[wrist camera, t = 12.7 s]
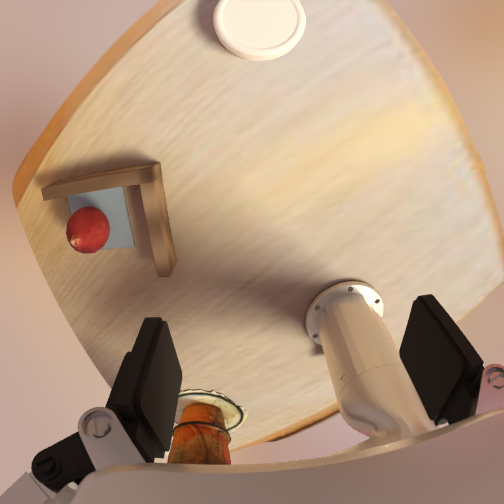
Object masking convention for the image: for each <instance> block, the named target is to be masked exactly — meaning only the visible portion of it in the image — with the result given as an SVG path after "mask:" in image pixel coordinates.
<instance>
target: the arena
mask: <svg viewBox="0 0 504 504" xmlns="http://www.w3.org/2000/svg"><path fill="white" fill-rule="evenodd" d="M138 184H140V189H141V195H142V200H143V206H144V211H145V217H146V222H147V227H148V232H149V237H150V242H151V247H152V251H153V256H154V260H155V265H156V269H157V273H158V277H170V276H171V274H172V271H173V269H174V266H175V264H176V257H175V252H174V246H173V241H172V235H171V230H170V224H169V218H168V212H167V206H166V199H165V193H164V186H163V179H162V172H161V165H160V163H153V164H146V165H139V166H133V167H127V168H121V169H115V170H109V171H104V172H99V173H93V174H88V175H83V176H79V177H74V178H69V179H65V180H60V181H56V182H54V183H52V184H50V185H48V186H46V187H44V188H42V189H41V191H42V195H43V200H44V201H45V200H50V199H55V198H60V197H65V196H70V195H76V194H81V193H87V192H93V191H98V190H105V189H111V188H117V187H124V186H131V185H138Z"/></svg>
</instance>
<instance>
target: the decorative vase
mask: <svg viewBox="0 0 504 504" xmlns="http://www.w3.org/2000/svg"><path fill="white" fill-rule="evenodd" d="M246 418H247V411H244V408H243V407H237V406H236V405H235V403H234V402H233V401H231V400H229V399H228V398H226V397H225V396H224V395H222V394H218V393H216V391H213V392H211V393H209V392H205V391H203V390H196V391H192V390H188V391H186V392H182V391H181V393H179V398H178V404H177V409H176V415H175V421H174V423H175V424H176V426H175V427H174V429H173V434H172V435H173V437H174V438H173V441H172V445H171V449H170V452H169V456H168V462H167V463H172V464H196V465H231V460H230V454H229V449H228V444H229V443H230V442H231V437H230V435H229V433H228V431H233V432H234V431H235V430H236V428H237V427H240V426H242V423H244V422H245V419H246Z"/></svg>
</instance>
